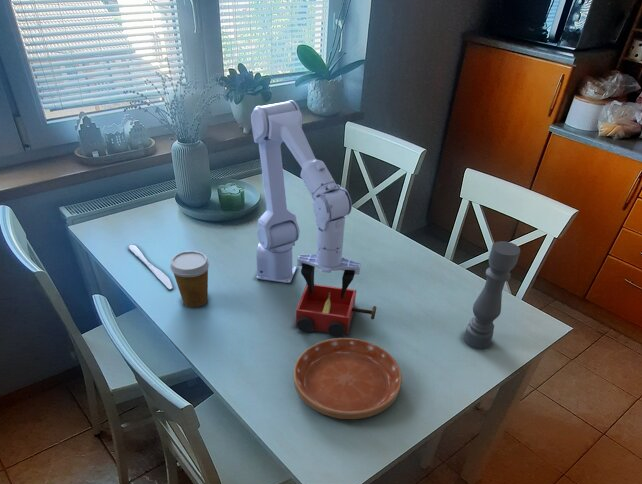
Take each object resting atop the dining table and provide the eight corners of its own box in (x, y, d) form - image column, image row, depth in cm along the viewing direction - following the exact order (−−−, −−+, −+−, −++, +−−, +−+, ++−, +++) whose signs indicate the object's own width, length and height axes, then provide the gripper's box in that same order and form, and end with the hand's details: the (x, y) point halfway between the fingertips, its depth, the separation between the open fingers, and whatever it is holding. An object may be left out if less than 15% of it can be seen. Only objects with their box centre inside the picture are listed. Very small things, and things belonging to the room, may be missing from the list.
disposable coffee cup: (220, 293, 135) (215, 253, 127) (203, 314, 129) (197, 273, 121) (187, 286, 138) (181, 246, 129) (169, 306, 131) (161, 266, 123)
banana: (325, 304, 131) (326, 291, 129) (332, 305, 131) (333, 292, 128) (319, 324, 125) (320, 310, 123) (326, 325, 125) (327, 311, 122)
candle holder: (485, 352, 120) (517, 259, 103) (459, 342, 122) (486, 250, 105) (493, 337, 124) (525, 246, 107) (468, 328, 126) (495, 237, 109)
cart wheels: (296, 331, 125) (296, 318, 122) (309, 297, 135) (309, 284, 132) (370, 342, 122) (371, 329, 119) (377, 307, 132) (379, 294, 129)
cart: (295, 327, 126) (296, 310, 122) (306, 299, 134) (306, 282, 130) (347, 335, 124) (348, 318, 120) (354, 307, 132) (356, 289, 128)
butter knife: (136, 242, 152) (127, 245, 151) (177, 286, 137) (166, 289, 135) (137, 244, 153) (127, 247, 151) (177, 288, 137) (167, 291, 136)
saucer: (320, 438, 100) (321, 426, 98) (278, 364, 116) (277, 352, 113) (420, 405, 107) (423, 393, 105) (367, 339, 123) (369, 327, 120)
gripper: (294, 248, 113) (293, 298, 122) (359, 257, 111) (354, 307, 120) (301, 232, 118) (300, 282, 127) (364, 241, 116) (358, 290, 125)
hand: (327, 293), depth 124 cm, fingers open, 7 cm apart
